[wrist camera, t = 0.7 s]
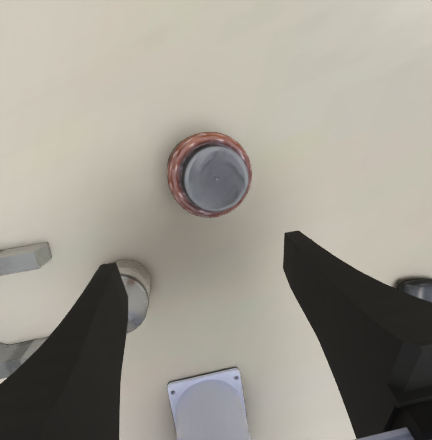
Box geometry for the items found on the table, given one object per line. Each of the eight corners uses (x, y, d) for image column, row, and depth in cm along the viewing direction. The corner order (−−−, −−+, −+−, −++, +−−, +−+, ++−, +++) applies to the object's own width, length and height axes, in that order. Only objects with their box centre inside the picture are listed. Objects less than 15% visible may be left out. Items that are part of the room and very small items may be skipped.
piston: (155, 301, 32) (152, 328, 27) (104, 311, 31) (92, 340, 26) (146, 254, 31) (141, 274, 26) (92, 264, 30) (78, 286, 25)
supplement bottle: (157, 185, 29) (149, 205, 18) (181, 125, 29) (188, 109, 18) (215, 209, 31) (240, 241, 20) (239, 152, 30) (280, 152, 19)
